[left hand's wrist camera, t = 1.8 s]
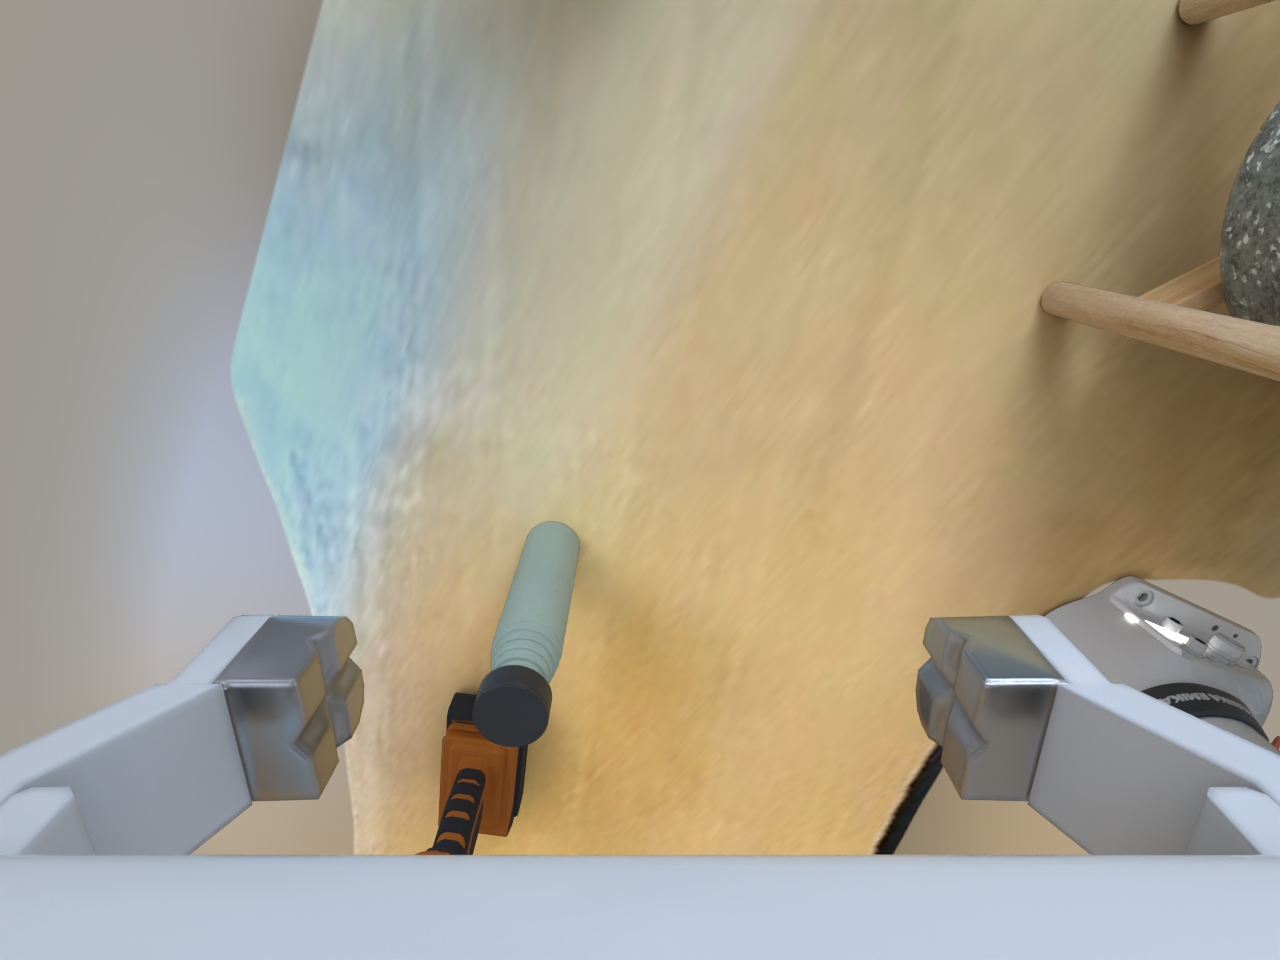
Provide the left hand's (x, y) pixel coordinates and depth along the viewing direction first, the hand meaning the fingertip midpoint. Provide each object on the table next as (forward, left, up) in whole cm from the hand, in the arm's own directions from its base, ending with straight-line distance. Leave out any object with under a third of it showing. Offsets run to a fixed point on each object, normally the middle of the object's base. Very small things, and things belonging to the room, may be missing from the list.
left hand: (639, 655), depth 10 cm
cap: (+22, -8, -26) cm, 35 cm away
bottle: (+22, -8, -48) cm, 54 cm away
